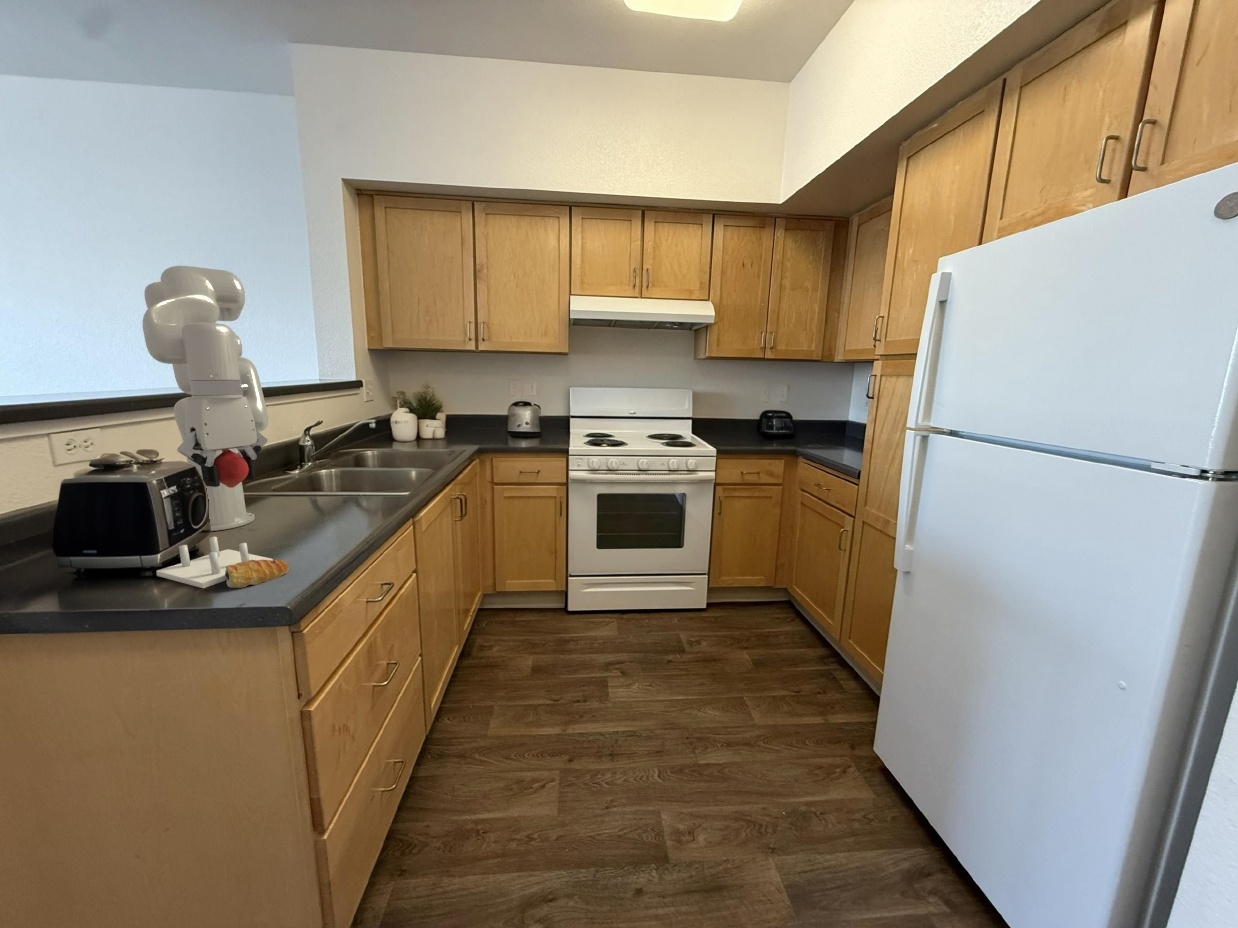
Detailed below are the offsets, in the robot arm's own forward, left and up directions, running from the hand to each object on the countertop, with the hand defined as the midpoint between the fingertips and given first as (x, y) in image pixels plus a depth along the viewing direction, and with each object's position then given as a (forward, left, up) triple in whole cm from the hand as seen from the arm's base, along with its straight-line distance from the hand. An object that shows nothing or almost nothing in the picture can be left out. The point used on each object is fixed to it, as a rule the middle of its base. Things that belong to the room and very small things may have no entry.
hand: (231, 481), depth 95 cm
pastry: (+12, -5, -16) cm, 21 cm away
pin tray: (+1, -5, -16) cm, 17 cm away
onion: (0, 0, -1) cm, 1 cm away
